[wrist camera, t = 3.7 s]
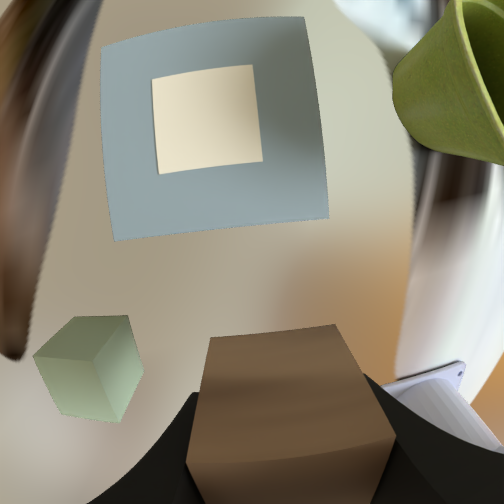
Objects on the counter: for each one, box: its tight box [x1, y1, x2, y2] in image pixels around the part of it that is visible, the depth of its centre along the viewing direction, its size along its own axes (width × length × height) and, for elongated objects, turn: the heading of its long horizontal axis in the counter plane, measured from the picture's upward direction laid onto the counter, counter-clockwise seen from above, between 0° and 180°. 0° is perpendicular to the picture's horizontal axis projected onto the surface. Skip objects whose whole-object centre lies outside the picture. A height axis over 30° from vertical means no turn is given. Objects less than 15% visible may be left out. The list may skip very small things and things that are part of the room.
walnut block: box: [186, 324, 396, 504], centre depth 7 cm, size 4×4×5 cm
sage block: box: [33, 315, 144, 423], centre depth 14 cm, size 4×4×5 cm
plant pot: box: [392, 0, 504, 166], centre depth 9 cm, size 9×9×9 cm
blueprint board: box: [100, 17, 329, 241], centre depth 13 cm, size 11×11×1 cm
